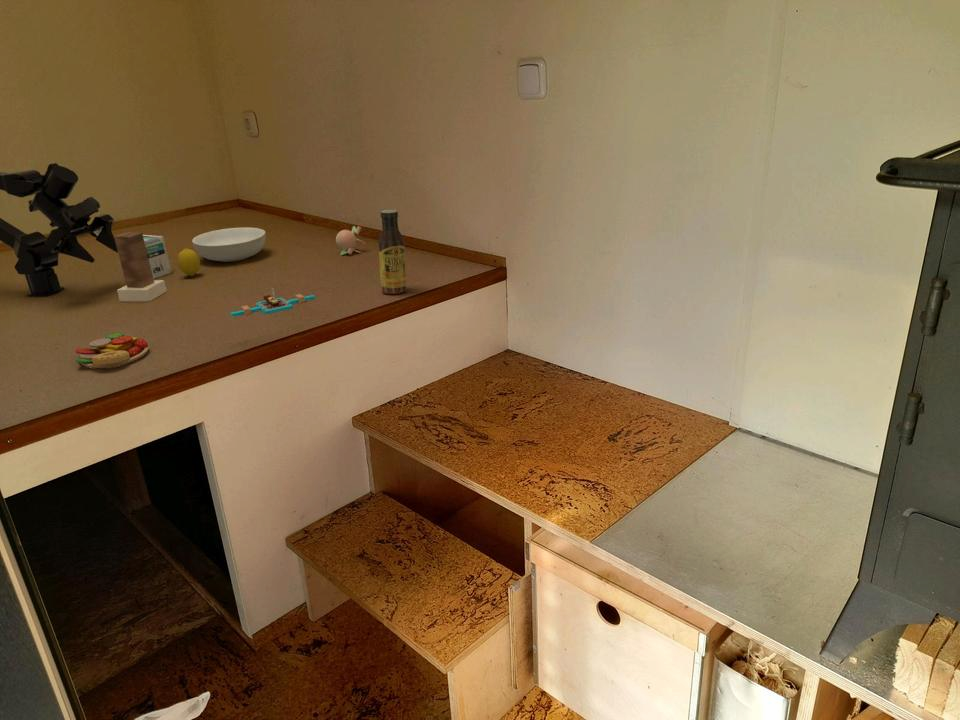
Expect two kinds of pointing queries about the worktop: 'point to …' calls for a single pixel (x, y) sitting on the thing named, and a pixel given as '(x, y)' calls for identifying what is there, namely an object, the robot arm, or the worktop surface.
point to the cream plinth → (142, 292)
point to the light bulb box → (157, 255)
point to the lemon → (188, 262)
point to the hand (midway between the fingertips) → (106, 256)
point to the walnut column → (134, 259)
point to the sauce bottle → (391, 254)
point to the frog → (348, 240)
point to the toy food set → (112, 351)
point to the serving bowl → (230, 243)
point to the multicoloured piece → (273, 304)
